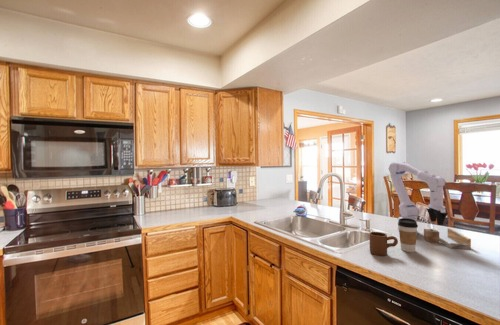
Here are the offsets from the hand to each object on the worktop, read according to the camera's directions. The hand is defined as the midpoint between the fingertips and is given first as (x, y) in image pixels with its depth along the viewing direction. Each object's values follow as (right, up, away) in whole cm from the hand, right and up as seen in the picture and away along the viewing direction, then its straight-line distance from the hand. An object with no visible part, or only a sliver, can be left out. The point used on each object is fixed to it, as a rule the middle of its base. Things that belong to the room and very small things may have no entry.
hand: (436, 222), depth 133 cm
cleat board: (+5, -10, -4) cm, 11 cm away
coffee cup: (-25, -10, -13) cm, 30 cm away
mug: (-40, -11, -18) cm, 45 cm away
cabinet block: (-4, -10, -2) cm, 11 cm away
